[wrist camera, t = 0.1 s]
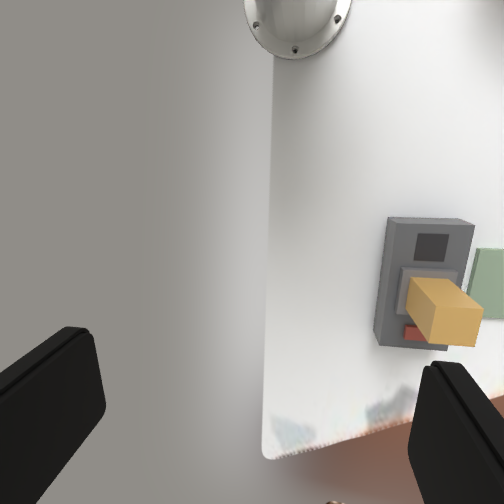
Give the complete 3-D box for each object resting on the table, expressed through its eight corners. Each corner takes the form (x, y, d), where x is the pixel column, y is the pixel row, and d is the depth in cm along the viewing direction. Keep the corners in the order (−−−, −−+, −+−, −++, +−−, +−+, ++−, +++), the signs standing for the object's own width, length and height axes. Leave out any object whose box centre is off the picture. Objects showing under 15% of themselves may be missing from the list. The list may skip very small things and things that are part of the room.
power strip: (388, 217, 41) (398, 224, 37) (459, 218, 40) (478, 226, 36) (373, 330, 47) (380, 347, 43) (435, 335, 46) (448, 353, 41)
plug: (392, 257, 43) (427, 297, 31) (440, 259, 42) (496, 301, 30) (386, 297, 45) (417, 349, 33) (432, 300, 44) (482, 355, 32)
